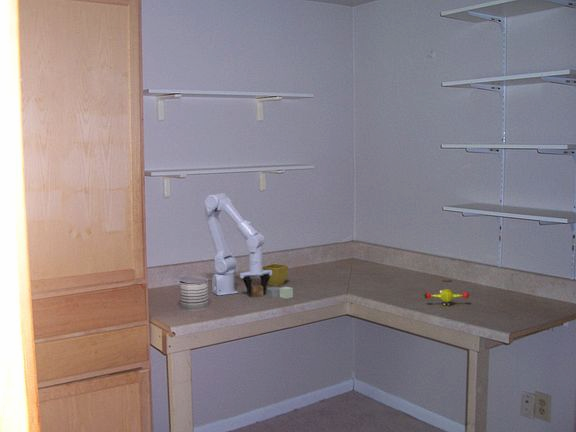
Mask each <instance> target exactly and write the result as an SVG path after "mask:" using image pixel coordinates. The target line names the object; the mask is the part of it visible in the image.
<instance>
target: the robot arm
mask: <svg viewBox="0 0 576 432" xmlns="http://www.w3.org/2000/svg"><path fill="white" fill-rule="evenodd" d="M204 206H205V207H204V218H205V222H206V224H207V228H208V230H209V234H210V236H211V237H210V238H211V241H212V244H213V247H214V251H215V255H214V259H213V260H214V269H215V271H216V273H214V274H213V275H212V278H211V280H212V281H211V283H212V284H211V285H212V290H211V292H212V293H213V294H215V295H217V296H225V295H226V296H227V295H233V294H238V293H239V292H238V291H237V290H235V289H236V288H235V286H236V285H235V270H236V268H237V267H238V261H237V259H236V257H235V256H234V254H233V253H232V252H231V251H230V250H229V248H228V245H227V242H226V238H225V236H224V232H223V229H222V226H221V222H220V220H219V219H220V218H219V215H220V214H221V212H224V213H226V214H227V215H228V217H230V219H231V220H232V221H233V222H234V223H235V224H236V226H237V227H236V230H238V232H239V233H240V234H241V236H242V237H243V239H245V240H246V246H247V248H248V260H249V262H248V263H249V264H248V265H249V266H248V267H249V271H246V272H240V273H239V278H240V279H242V281H243V282H244V285H245V288H246V292H247V294H248V295H249V294H251V285H252V281H253V279H252V278H253V277H259V278H260V285H261V286H263V293H266V288H267V285H268V281H269V279H270V276H269V275H272V270H263V246H264V244H265V236H264V235H263V234H262V233H260V232H258V231H257V230H256V229H255V228H254V227H253V226H252V222H251V221H249V220H245V219H243V217H242V216H241V214H240V213H239V212H238V210H237V209H236V208H235V206H234V205H233V203H232V200H231V198H229V197H228V196H227V194H226V193H224V192H221V193H217V194H209V195H208V196H206V198H205V200H204ZM251 277H252V278H251Z"/></svg>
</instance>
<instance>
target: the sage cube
mask: <svg viewBox="0 0 576 432" xmlns="http://www.w3.org/2000/svg"><path fill="white" fill-rule="evenodd" d="M293 297H294V288H293V287H290V286H283V287H280V296H279V298H283V299H290V298H293Z"/></svg>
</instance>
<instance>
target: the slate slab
mask: <svg viewBox="0 0 576 432" xmlns="http://www.w3.org/2000/svg"><path fill="white" fill-rule="evenodd" d="M280 288H281V287H279V286H271V287H266V289H265V295H267V296H269V297H271V298H277V297H280Z"/></svg>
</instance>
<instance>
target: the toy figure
mask: <svg viewBox="0 0 576 432" xmlns="http://www.w3.org/2000/svg"><path fill="white" fill-rule="evenodd" d="M432 297H434V298H440V300H441V301H443V305H445V306H446V305H447V306H448V307H450V302H451V301H452V300H454V298H459V297H462V298H464V299H468V298H469V297H470V294H469V293H468V292H467V291H466V292H463V293H462V294H460V293H458V294H454V293H453V291H452V290H451V289H448V288H445V289H442V290H440V291H439V294H431V293H430V292H426V293H425V292H424V298H425V299H427V300H429V299H430V298H432Z"/></svg>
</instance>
